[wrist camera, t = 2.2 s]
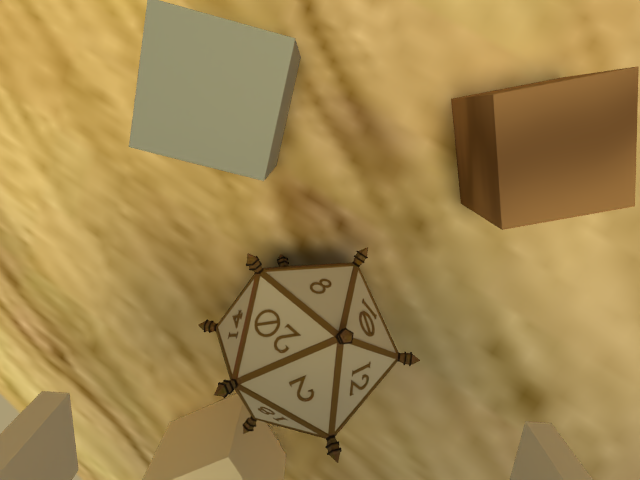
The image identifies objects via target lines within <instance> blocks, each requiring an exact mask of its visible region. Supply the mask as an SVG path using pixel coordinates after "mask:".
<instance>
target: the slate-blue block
mask: <svg viewBox="0 0 640 480" xmlns="http://www.w3.org/2000/svg"><path fill="white" fill-rule="evenodd" d="M300 58H301V56H300V53H299V50H298V46H297V43H296V39H295V38H292V37H288V36H285V35H281V34H278V33H274V32H270V31H267V30H263V29H260V28H256V27H252V26H249V25H245V24H242V23H238V22H235V21H231V20H227V19H224V18H220V17H217V16H213V15H210V14H206V13H202V12H199V11H195V10H192V9H188V8H184V7H181V6H177V5H174V4H170V3H167V2H163V1H159V0H148V1H147V9H146V17H145V24H144V32H143V40H142V48H141V56H140V64H139V72H138V80H137V88H136V95H135V103H134V111H133V119H132V127H131V135H130V143H129V147H131V148H135V149H139V150H143V151H147V152H151V153H155V154H159V155H163V156H167V157H171V158H175V159H179V160H183V161H187V162H191V163H194V164H198V165H202V166H206V167H210V168H214V169H218V170H222V171H226V172H230V173H234V174H238V175H242V176H246V177H250V178H254V179H258V180H262V181H264V180H265V179H266V178H267V177H268V175H269V174H270V173H271V172H272V170H273V169H274V168H275V167H276V165H277V160H278V156H279V151H280V147H281V143H282V138H283V134H284V129H285V125H286V120H287V116H288V111H289V107H290V102H291V98H292V94H293V89H294V85H295V80H296V76H297V71H298V67H299V62H300Z"/></svg>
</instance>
